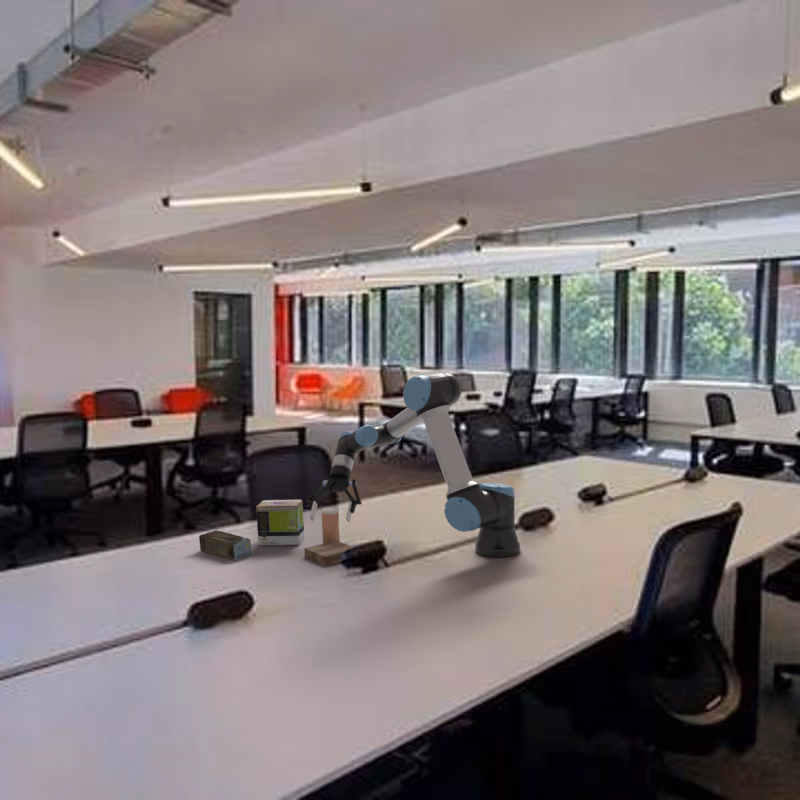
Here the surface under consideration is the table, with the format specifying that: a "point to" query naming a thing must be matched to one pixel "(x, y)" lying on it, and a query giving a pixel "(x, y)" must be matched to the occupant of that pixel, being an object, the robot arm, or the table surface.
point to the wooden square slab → (326, 552)
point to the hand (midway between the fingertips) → (329, 519)
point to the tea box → (280, 522)
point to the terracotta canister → (330, 524)
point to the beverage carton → (225, 544)
